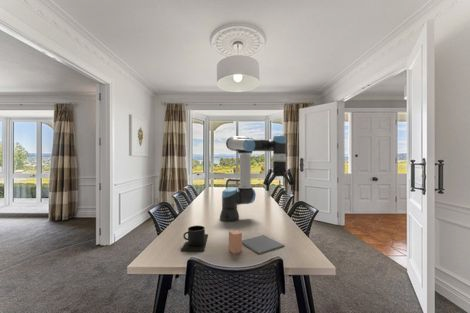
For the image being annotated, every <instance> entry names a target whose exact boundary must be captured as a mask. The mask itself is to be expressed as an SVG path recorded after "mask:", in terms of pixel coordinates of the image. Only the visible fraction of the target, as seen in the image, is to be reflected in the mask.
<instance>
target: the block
mask: <svg viewBox="0 0 470 313" xmlns="http://www.w3.org/2000/svg"><path fill="white" fill-rule="evenodd" d="M242 240H243V232H242V231H240V230H238V229H235V230H230V231H228V251H229V252H231V253H232V254H234V255H235V254H238V253H241V252H243V244H242Z"/></svg>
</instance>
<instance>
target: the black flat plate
mask: <svg viewBox="0 0 470 313" xmlns="http://www.w3.org/2000/svg"><path fill="white" fill-rule="evenodd" d="M208 237H209V234H207V233H205V244H204V245H202V246H200V247H191V246H189V245H188V240H186V241H185V242H184V243H183V245H182V247H181V249H180V252H181V253H199V252H200V253H201V252H204V251H205V249H206V244H207V240H208Z"/></svg>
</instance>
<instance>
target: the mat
mask: <svg viewBox="0 0 470 313" xmlns="http://www.w3.org/2000/svg"><path fill="white" fill-rule="evenodd" d="M242 246H244V247H246V248H247V249H250V250H251V251H252V252H255V254H258V255H261V254H264V253H265V254H266V253H267V252H271V251H274V250H277V249H282V248H284V247H285V244H283V243H281V242H279V241H277V240H276V239H274V238H270V237H268V236H266V235H264V234H261V235H258V236H253V237H250V238H245V239H242Z"/></svg>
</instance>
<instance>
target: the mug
mask: <svg viewBox="0 0 470 313" xmlns="http://www.w3.org/2000/svg"><path fill="white" fill-rule="evenodd" d="M205 228H206V227H205V226H202V225H192V226H189V227H188V228H187V231H185V232H184V233H183V239H184V240H185V241H188V245H189V246H191V247H200V246H202V245H204V244H205V234H206V230H205ZM186 235H187V236H186Z"/></svg>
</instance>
